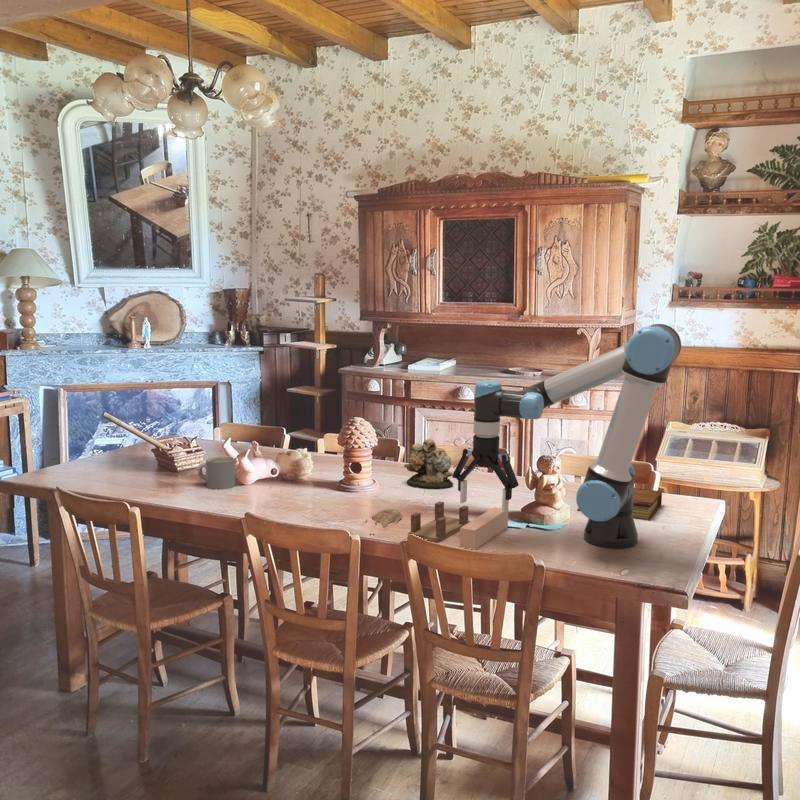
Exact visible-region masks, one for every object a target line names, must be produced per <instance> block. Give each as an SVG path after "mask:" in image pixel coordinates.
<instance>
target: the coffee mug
mask: <svg viewBox="0 0 800 800" xmlns="http://www.w3.org/2000/svg"><path fill="white" fill-rule="evenodd" d="M235 464H236V463H235V457H233V456H229V455H217V456H211V457H207V458H206V460H205V462H201V463H200V464H199V465H198V467H197V475H198V477H199V478H200V479H202V480H204V481H206V487H207V488H208V489H210V490H215V489H217V490H229V489H232V488H234V487H236V466H235ZM203 468H204V469H205V470H206V471H205V472H206V473H205V474H204V473H203Z"/></svg>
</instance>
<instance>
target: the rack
mask: <svg viewBox="0 0 800 800" xmlns="http://www.w3.org/2000/svg"><path fill="white" fill-rule="evenodd" d="M458 509H459V510H458V511H459V512H458V513H459V515H458V518H457V517H451V516H446V515H445V502H444V501H437V502H435V503H434V519H432V520H431V521H429V522H427V523H425V524H423V525H421V523H422V522H421V521H422V520H421V519H422V518H421V517H422V516H421V514H422V513H421V512H414V513H412V514H411V515H410V531H409V532H408V533H407V536H408V535H409V534H414V535H416V536H419V537H421V538H423V539H427V540H430V541H429V542H432V541H434V542H433V543H437V542H438V543H440V542H442V541H443V540H445V539H447V538H449V537H451V536H453V535H454V534H456V533H458V532H460V528H461V527H463V526H464V525H466V524H467V523H469V522H471V520H469V506H467V505H463V506H460V507H459V508H458ZM427 540H426V541H427Z"/></svg>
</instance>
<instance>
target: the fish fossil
mask: <svg viewBox="0 0 800 800" xmlns="http://www.w3.org/2000/svg"><path fill="white" fill-rule="evenodd" d="M376 512H377V513H376ZM376 512H374V513H375V514H374V513H372V514H373V516H372V517H371V516H370V517H371V518H372V520H374V521H376V522H375V525H377V523H380V524H381V525H382V527H383V528H385V527H386V526H387V525H388V524H390V523H395V522H396V524H397V523H399V521H400V520H401V519H402V513H401V511H400V510H399V509H398V508H392V509H391V508H390V509H389V508H387V509H381V510H379V511H376ZM387 527H388V526H387ZM387 527H386V528H387ZM386 528H385V529H386Z"/></svg>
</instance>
